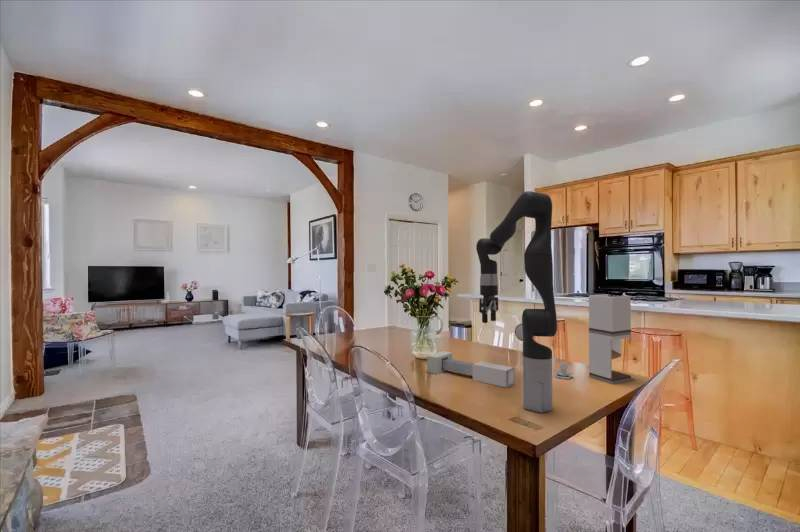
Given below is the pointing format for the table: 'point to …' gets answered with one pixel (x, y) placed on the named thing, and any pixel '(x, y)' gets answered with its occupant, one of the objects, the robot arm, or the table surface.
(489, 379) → the grey sleeve
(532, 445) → the table surface
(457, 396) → the table surface
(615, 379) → the grey notched tower
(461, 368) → the steel tube
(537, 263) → the robot arm
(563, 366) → the pacifier
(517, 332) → the magnifying glass
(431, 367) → the socket block
